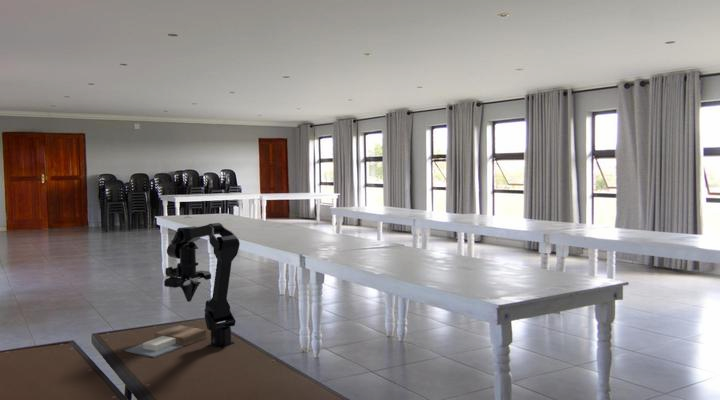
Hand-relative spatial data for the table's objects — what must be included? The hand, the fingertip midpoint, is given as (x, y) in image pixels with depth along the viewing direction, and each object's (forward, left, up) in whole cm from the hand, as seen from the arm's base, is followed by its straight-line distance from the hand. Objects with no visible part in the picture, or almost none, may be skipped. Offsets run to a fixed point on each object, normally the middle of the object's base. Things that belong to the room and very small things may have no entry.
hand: (189, 301), depth 216 cm
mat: (-3, +20, -12) cm, 23 cm away
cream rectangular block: (-3, +18, -12) cm, 21 cm away
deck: (-3, +8, -12) cm, 14 cm away
